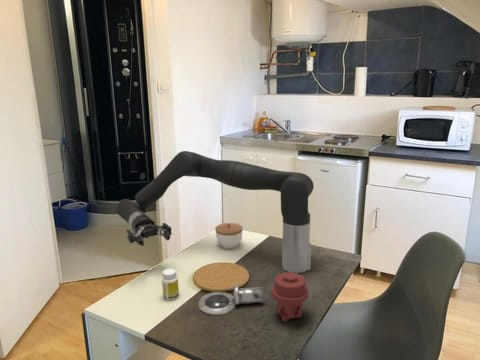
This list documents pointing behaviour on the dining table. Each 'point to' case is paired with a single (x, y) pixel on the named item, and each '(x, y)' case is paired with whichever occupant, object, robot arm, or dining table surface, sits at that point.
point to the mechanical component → (289, 294)
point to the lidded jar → (229, 235)
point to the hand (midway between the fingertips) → (155, 240)
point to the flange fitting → (229, 300)
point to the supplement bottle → (170, 284)
